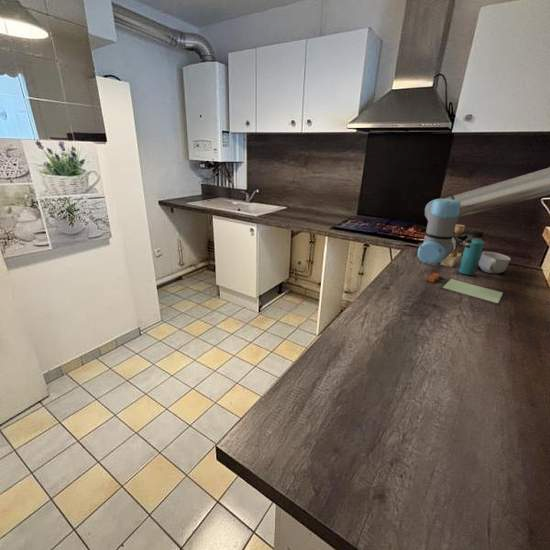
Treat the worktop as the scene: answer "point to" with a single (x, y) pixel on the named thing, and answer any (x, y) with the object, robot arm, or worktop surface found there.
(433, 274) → the crumb
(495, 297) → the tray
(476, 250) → the beverage bottle
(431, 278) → the crumb
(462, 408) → the worktop surface
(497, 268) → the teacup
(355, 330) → the worktop surface
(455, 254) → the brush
